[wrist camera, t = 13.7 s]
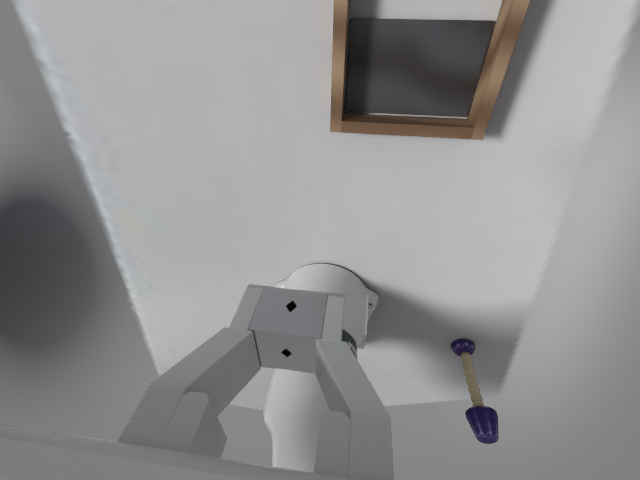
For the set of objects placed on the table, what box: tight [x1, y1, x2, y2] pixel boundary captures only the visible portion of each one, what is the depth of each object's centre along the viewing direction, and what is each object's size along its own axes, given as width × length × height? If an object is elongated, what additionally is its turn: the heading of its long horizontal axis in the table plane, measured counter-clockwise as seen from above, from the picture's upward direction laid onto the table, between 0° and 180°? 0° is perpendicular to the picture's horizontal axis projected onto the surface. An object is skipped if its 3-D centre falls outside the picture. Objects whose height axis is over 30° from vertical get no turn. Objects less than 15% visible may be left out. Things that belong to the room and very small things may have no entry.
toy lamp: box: [451, 339, 498, 444], centre depth 53 cm, size 5×5×17 cm
